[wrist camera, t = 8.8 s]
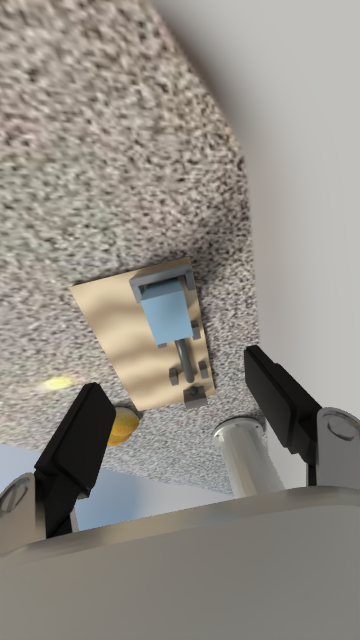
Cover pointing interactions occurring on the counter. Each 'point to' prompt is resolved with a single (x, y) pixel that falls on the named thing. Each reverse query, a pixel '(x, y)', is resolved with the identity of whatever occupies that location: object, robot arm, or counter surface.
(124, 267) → the counter surface
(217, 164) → the counter surface
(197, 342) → the board
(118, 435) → the bread roll
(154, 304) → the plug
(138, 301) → the end holder
